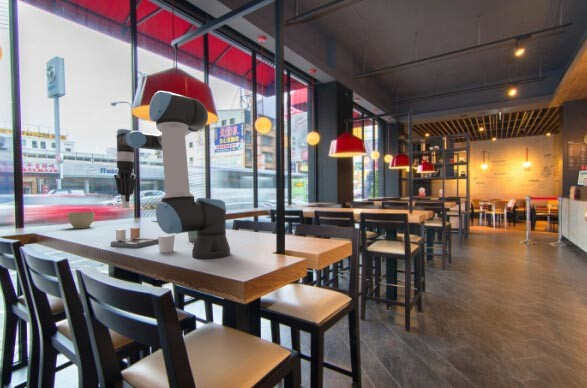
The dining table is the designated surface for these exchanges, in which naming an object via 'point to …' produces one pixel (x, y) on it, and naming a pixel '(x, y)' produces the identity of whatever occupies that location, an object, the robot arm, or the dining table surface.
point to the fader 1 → (121, 234)
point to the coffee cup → (192, 236)
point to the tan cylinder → (135, 232)
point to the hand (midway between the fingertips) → (125, 208)
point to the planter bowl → (81, 219)
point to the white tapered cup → (166, 243)
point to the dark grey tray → (134, 242)
